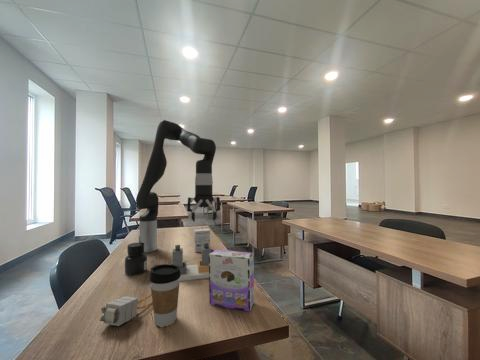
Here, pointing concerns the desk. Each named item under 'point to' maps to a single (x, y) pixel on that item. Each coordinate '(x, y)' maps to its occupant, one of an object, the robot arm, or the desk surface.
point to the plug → (205, 254)
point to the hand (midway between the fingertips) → (203, 220)
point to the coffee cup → (165, 293)
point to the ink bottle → (135, 259)
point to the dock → (188, 267)
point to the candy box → (231, 279)
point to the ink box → (201, 239)
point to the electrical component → (121, 310)
